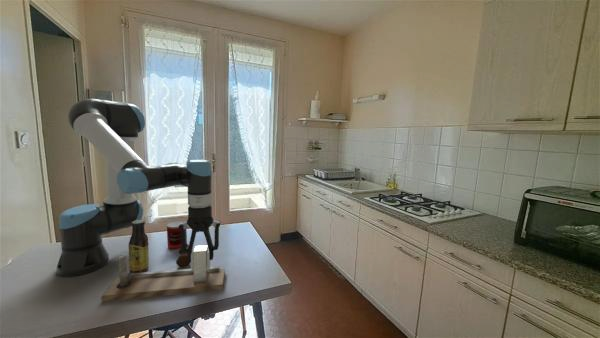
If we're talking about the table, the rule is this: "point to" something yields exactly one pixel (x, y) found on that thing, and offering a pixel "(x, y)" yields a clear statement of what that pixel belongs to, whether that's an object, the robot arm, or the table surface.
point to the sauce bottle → (138, 248)
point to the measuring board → (160, 283)
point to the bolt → (183, 259)
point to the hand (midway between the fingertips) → (201, 268)
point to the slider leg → (200, 264)
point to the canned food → (174, 235)
